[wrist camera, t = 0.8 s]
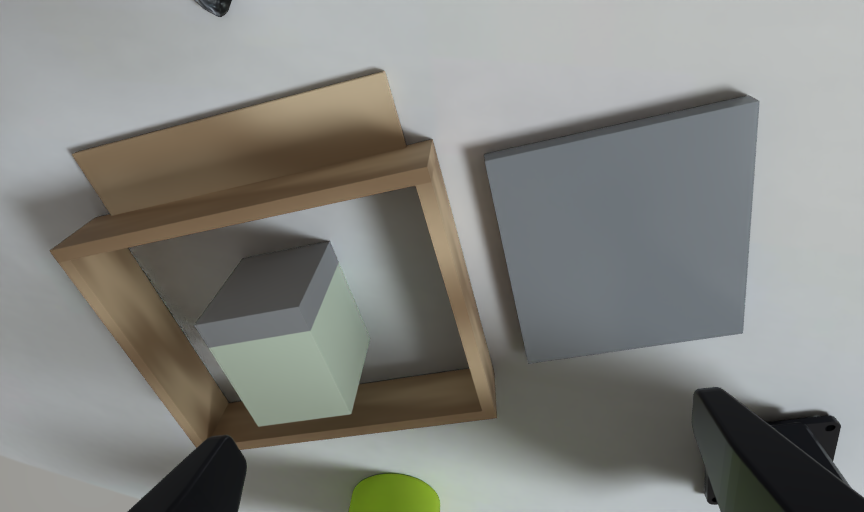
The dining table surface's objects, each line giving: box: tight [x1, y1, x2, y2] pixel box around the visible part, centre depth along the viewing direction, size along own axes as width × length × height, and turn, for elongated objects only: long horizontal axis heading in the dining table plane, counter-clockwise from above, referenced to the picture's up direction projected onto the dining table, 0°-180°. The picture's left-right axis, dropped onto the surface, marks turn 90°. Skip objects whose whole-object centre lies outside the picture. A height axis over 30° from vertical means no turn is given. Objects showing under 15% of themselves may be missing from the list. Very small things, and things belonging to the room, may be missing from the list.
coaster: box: [484, 96, 759, 364], centre depth 22 cm, size 11×10×1 cm
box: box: [194, 241, 370, 427], centre depth 23 cm, size 6×4×5 cm
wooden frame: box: [50, 71, 497, 450], centre depth 24 cm, size 19×16×3 cm
